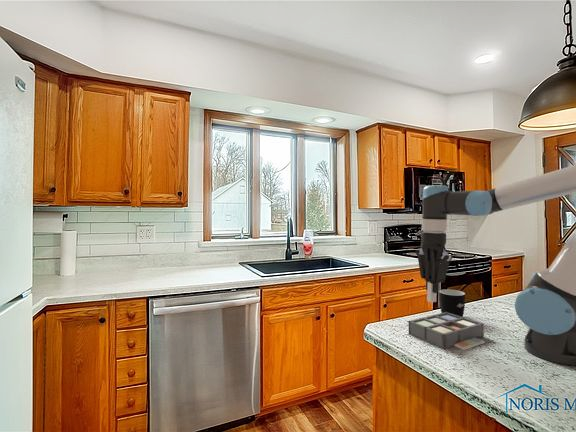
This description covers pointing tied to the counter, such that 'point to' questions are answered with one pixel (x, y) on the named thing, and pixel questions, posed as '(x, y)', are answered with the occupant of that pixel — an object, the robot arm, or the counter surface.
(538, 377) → the counter surface
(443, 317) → the key
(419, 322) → the key
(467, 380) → the counter surface
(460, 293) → the mug
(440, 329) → the key
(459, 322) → the key
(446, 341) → the gray compartment tray
